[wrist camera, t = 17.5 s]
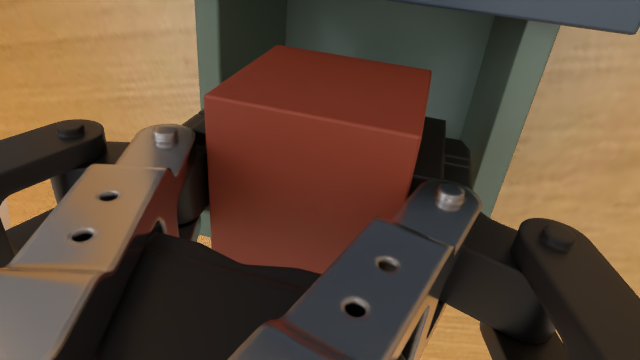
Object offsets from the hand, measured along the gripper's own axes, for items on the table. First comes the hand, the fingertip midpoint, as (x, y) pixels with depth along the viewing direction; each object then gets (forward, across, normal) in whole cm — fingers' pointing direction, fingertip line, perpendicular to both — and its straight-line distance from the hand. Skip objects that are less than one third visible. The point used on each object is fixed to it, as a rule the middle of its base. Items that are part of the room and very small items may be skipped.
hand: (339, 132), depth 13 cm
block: (0, 0, 0) cm, 0 cm away
